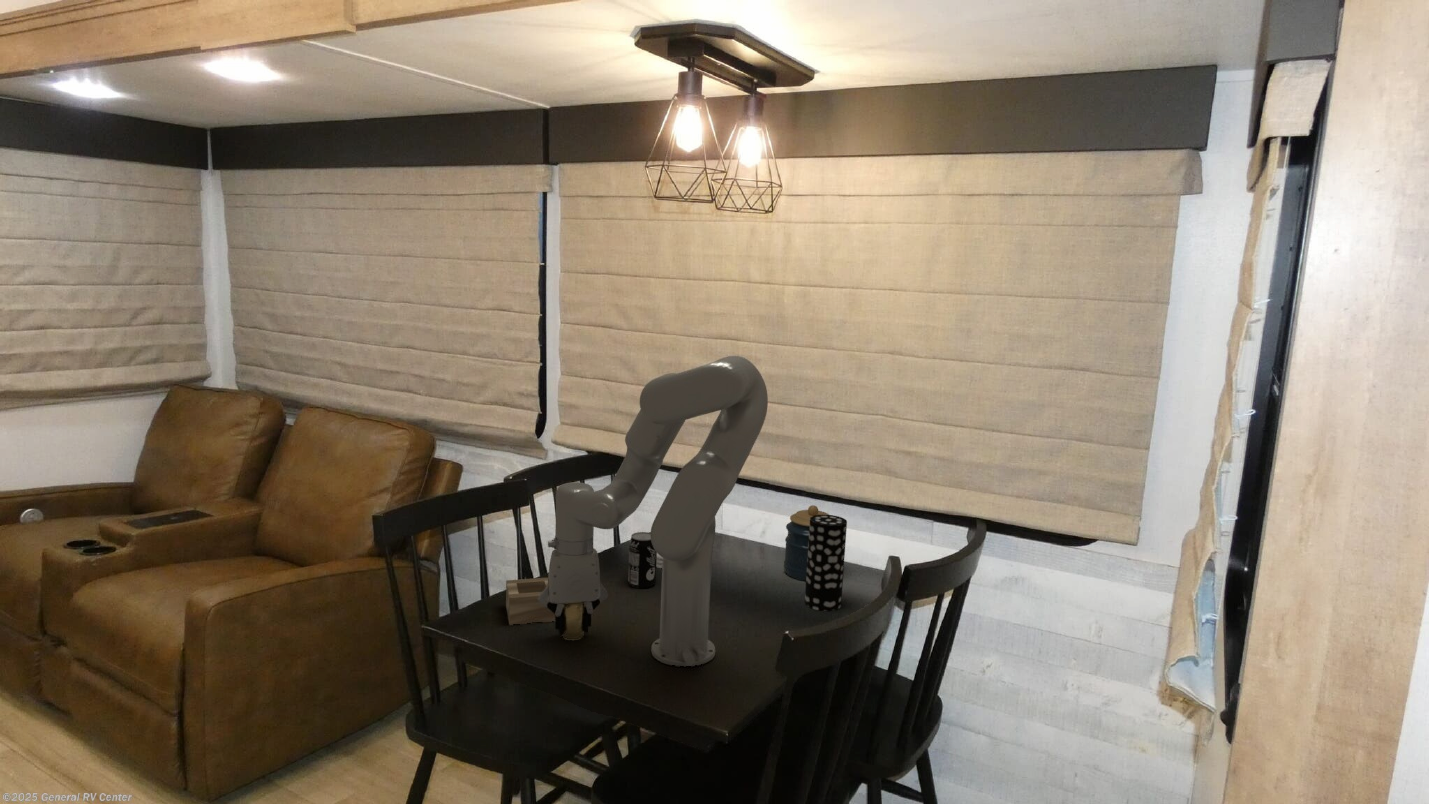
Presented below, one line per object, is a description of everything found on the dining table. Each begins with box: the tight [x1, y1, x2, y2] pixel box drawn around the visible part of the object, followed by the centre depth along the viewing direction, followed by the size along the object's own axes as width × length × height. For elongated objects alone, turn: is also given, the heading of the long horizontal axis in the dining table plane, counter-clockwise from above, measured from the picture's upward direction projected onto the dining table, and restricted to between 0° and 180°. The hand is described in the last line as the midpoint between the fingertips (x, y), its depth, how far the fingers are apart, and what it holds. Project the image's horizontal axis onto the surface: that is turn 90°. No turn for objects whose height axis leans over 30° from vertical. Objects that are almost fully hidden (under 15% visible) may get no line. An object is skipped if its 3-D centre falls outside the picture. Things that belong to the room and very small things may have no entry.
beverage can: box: [627, 531, 657, 589], centre depth 200 cm, size 7×7×12 cm
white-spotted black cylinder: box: [804, 514, 848, 612], centre depth 193 cm, size 8×8×20 cm
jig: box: [505, 577, 555, 626], centre depth 181 cm, size 10×10×6 cm
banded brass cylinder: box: [561, 602, 585, 639], centre depth 171 cm, size 4×4×8 cm
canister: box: [783, 504, 830, 581], centre depth 212 cm, size 13×13×18 cm
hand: (572, 630), depth 172 cm, fingers closed on banded brass cylinder, 4 cm apart
